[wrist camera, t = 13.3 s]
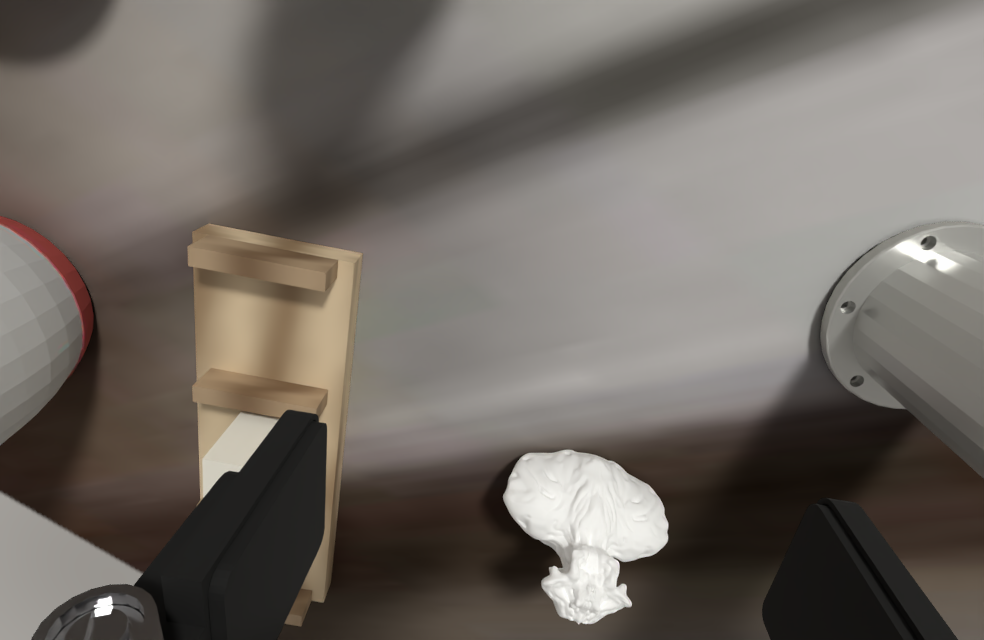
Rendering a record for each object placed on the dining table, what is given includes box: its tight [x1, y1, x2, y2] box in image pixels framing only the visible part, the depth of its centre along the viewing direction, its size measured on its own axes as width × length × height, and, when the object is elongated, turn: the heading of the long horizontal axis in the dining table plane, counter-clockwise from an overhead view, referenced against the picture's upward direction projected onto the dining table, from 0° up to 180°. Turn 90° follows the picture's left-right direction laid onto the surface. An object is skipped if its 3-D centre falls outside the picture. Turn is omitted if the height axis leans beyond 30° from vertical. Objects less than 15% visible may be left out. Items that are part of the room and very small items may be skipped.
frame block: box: [202, 411, 280, 498], centre depth 38 cm, size 3×7×6 cm, turn 169°
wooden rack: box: [188, 224, 363, 626], centre depth 41 cm, size 10×30×4 cm, turn 170°
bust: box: [503, 450, 668, 624], centre depth 40 cm, size 12×8×11 cm
